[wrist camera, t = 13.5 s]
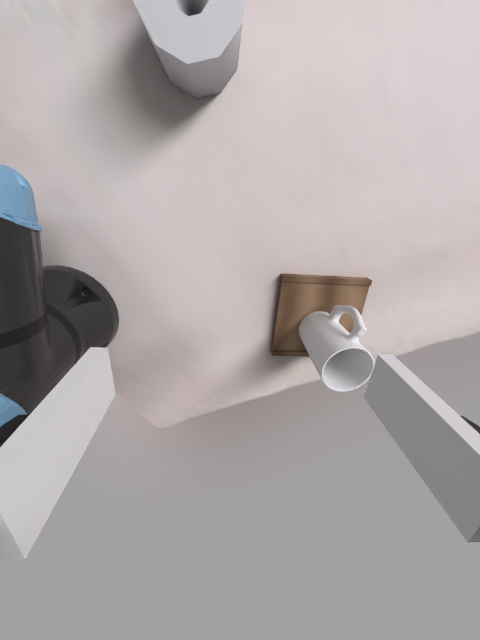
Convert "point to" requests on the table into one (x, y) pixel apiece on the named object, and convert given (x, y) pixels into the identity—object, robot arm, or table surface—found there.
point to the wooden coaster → (312, 306)
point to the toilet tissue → (195, 41)
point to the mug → (337, 348)
